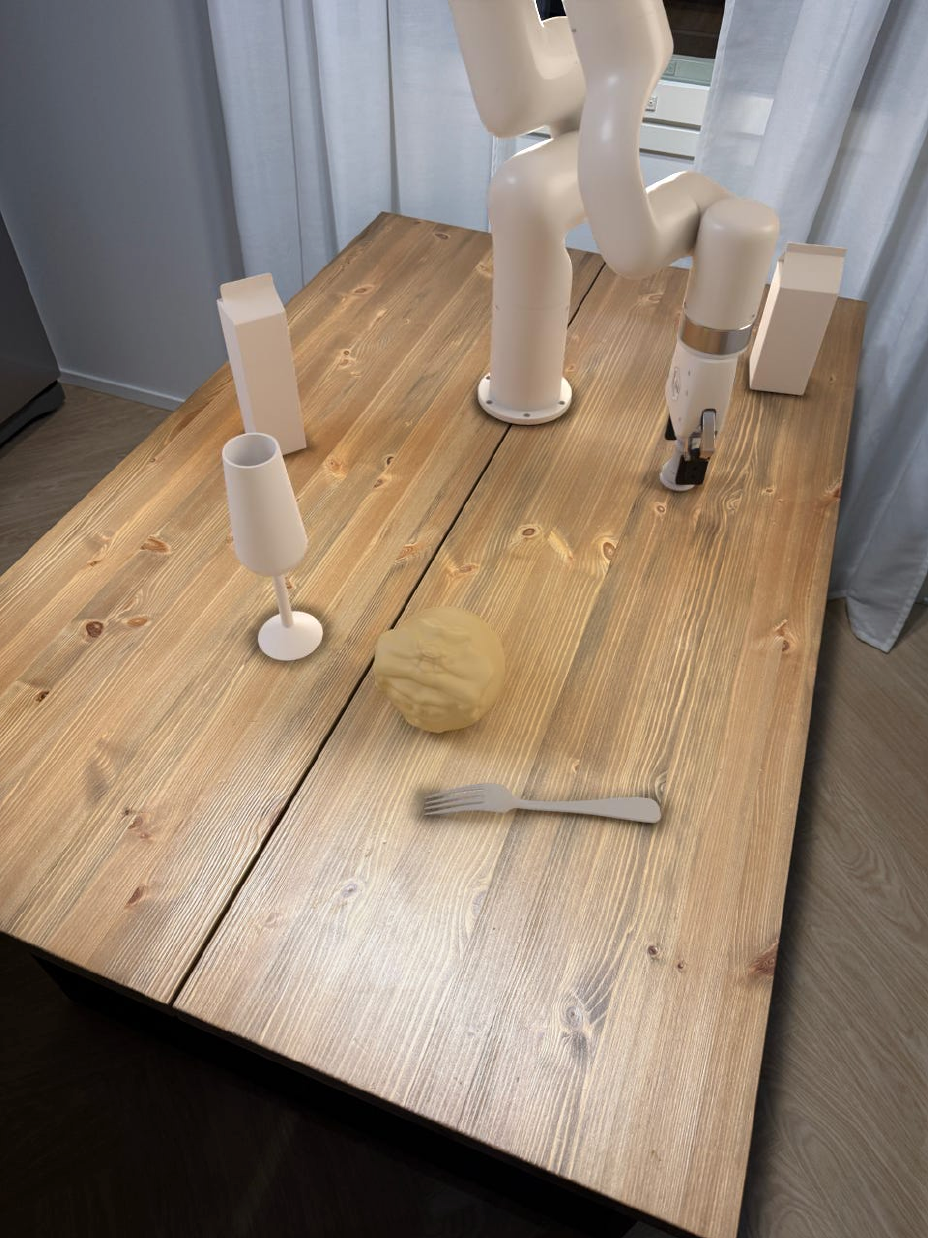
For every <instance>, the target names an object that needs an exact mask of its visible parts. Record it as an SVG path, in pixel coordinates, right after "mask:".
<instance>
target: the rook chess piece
mask: <svg viewBox="0 0 928 1238" xmlns="http://www.w3.org/2000/svg"><path fill="white" fill-rule="evenodd" d="M694 432H701V426H697V428H696V429H695V430H694ZM675 436H676V438H677V440H676V441H674V442H673V445H674V449H673V452H672V454H671V457H670V458H669V459H668V460H667V461H666V462H665V463H664V465H662V467H661V472H660V473H659V480H660V482H661V484H662V485H663V486H664V487H665V488H667V489H668V490H670V491H673V492H679V493H680V492H686V491H688V490H690V489H692V488H694V487H695V485H677V484H676V483H675V477H676V473H677V469H678V465H679V461H680V456H681V455H684V451H685V439H686V437H683V438H679V437H678V436H677V435H676V433H675ZM698 443H701V438H693V441H692V449H694V448H699V444H698Z"/></svg>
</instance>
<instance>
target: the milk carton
mask: <svg viewBox="0 0 928 1238" xmlns="http://www.w3.org/2000/svg"><path fill="white" fill-rule="evenodd" d="M847 251H848V247H842V246H832V245H822V244H813V243H812V244H811V243H805V242H804V243H803V242H793V241H788V242H787V243H786V246H785V250H784V252H783V253H782V254H781V255H780V257H779V258H778V260H777V262H776V266H775V269H774V274H773V276H772V281H771V284H770V287H769V290H768V295H767V298H766V302H765V305H764V309H763V312H762V315H761V318H760V322H759V326H758V328H757V333H756V336H755V339H754V343H753V347H752V350H751V353H750V357H749V389H750V390H755V391H762V392H772V393H779V394H788V395H796V396H803V395H805V394H804V393H805V391H806V388H807V385H808V383H809V379H810V377H811V374H812V371H813V368H814V366H815V363H816V359H817V356H818V353H819V351H820V347H821V345H822V342H823V340H824V337H825V333H826V331H827V328H828V325H829V322H830V319H831V317H832V314H833V311H834V309H835V305H836V302H837V299H838V297H839V294H840V289H841V282H842V276H843V270H844V265H845V258H846V255H847Z"/></svg>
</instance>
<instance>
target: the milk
mask: <svg viewBox="0 0 928 1238" xmlns="http://www.w3.org/2000/svg"><path fill="white" fill-rule="evenodd" d="M273 279H274V277H273V275H272V273H271V272H266V273H262V274H258V275H255V276H250V277H246V278H242V279H238V280H233V281H230V282H226V283H223V284H221V285H220V286H219V291H220V295H221V298H218V299H217V300H216V305H217V310H218V314H219V319H220V323H221V327H222V333H223V337H224V342H225V346H226V349H227V350H226V351H227V355H228V360H229V365H230V369H231V374H232V377H233V383H234V387H235V391H236V393H235V394H236V397H237V403H238V406H239V410H240V415H241V418H242V419H241V420H242V425H243V429H244V434H246V433H263V434H267V435H269V436H272V437H273V438H274V439H276V441H277V442H278V444H279V447H280V450H281V453H282V456H285V455H288V454H291V453H294V452H297V451H300V450H304V449H306V448H307V440H306V435H305V427H304V422H303V415H302V409H301V401H300V395H299V390H298V382H297V376H296V370H295V364H294V363H295V362H294V357H293V352H292V344H291V338H290V331H289V325H288V320H287V311H286V309H285V307H284V305H283V302H282V300H281V298H280V296H279V294H278V292H277V291H278V290H276V287H275V285H274V280H273Z"/></svg>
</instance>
